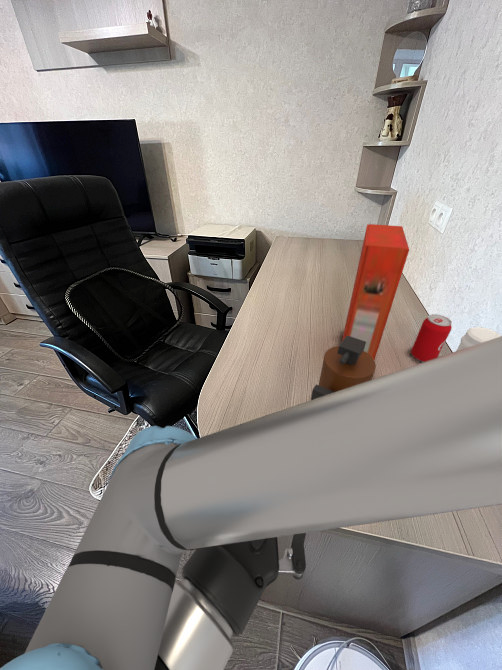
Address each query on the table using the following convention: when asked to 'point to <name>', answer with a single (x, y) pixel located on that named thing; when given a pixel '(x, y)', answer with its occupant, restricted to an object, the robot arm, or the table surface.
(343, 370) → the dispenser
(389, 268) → the file binder
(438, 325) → the beverage can
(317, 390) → the dark rectangular block
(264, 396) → the table surface
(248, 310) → the table surface
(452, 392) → the robot arm
